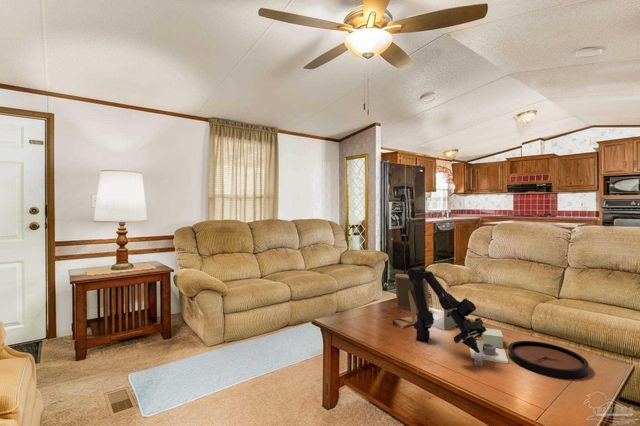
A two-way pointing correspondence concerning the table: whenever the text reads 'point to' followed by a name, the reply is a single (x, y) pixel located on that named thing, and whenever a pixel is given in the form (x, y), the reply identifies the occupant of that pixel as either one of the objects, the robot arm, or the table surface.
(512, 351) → the wall clock
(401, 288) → the tall grey box
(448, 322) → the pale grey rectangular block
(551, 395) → the table surface
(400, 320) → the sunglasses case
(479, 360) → the gold topped patterned cylinder
